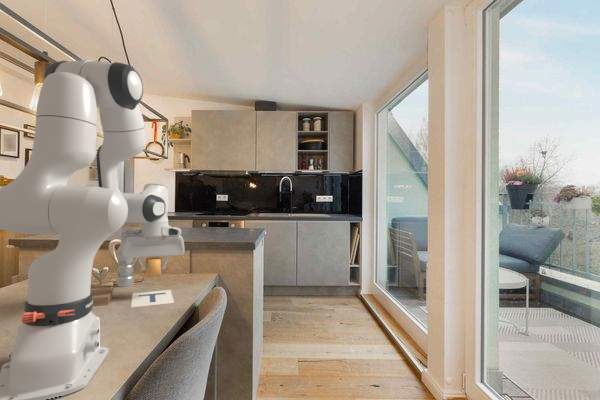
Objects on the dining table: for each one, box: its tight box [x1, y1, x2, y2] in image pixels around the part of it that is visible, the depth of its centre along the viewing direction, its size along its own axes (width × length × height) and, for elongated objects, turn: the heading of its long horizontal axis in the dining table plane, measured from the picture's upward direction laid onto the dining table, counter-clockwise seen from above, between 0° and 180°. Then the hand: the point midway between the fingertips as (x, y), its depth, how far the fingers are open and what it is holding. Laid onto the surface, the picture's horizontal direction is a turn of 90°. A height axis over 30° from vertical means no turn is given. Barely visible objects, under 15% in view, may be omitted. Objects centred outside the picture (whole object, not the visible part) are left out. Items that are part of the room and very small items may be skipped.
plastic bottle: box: [115, 241, 136, 288], centre depth 125 cm, size 6×7×20 cm
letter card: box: [130, 289, 175, 308], centre depth 111 cm, size 16×13×1 cm
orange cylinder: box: [145, 256, 163, 278], centre depth 111 cm, size 5×5×6 cm
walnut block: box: [90, 289, 114, 308], centre depth 105 cm, size 9×8×4 cm
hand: (153, 268), depth 111 cm, fingers closed on orange cylinder, 5 cm apart
